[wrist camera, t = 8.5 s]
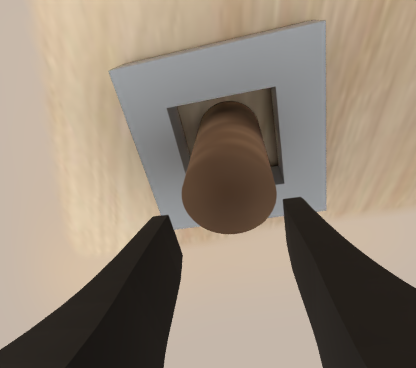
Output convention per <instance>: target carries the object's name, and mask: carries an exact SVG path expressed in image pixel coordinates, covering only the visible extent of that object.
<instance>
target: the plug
mask: <svg viewBox="0 0 416 368" xmlns="http://www.w3.org/2000/svg"><path fill="white" fill-rule="evenodd" d="M276 199H277V191H276V185H275V182H274V178H273V174H272V171H271V167H270V163H269V160H268V156H267V152H266V149H265V145H264V141H263V138H262V134H261V130H260V127H259V123H258V120H257V118H256V116H255V114H254V113H253V112H252V111H251V110H250V109H249V108H248V107H247V106H245V105H243V104H241V103H238V102H230V101H229V102H222V103H219V104H216V105H214V106H213V107H211V108H210V109H209V110H208V111H207V112H206V113H205V114H204V116H203V117H202V120H201V122H200V126H199V129H198V133H197V137H196V140H195V144H194V147H193V151H192V154H191V158H190V161H189V165H188V168H187V172H186V175H185V179H184V182H183V186H182V202H183V205H184V208H185V210H186V212H187V213H188V215H189V216H190V217H191V218H192V219H193V221H195V222H196V223H197V224H198V225H200V226H201V227H203V228H205V229H207V230H210V231H212V232H216V233H221V234H237V233H243V232H246V231H249V230H252V229H254V228H256V227H257V226H259V225H260V224H262V223H263V222H264V221H265V220H266V219H267V218H268V217H269V216H270V214H271V213H272V211H273V209H274V206H275V204H276Z"/></svg>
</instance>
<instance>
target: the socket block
mask: <svg viewBox="0 0 416 368" xmlns="http://www.w3.org/2000/svg"><path fill="white" fill-rule="evenodd" d="M109 74H110V77H111V80H112V82H113V85H114V88H115V91H116V93H117V96H118V99H119V101H120V104H121V107H122V110H123V112H124V115H125V118H126V121H127V123H128V126H129V129H130V132H131V134H132V137H133V140H134V143H135V145H136V148H137V151H138V153H139V156H140V159H141V162H142V164H143V167H144V170H145V173H146V175H147V178H148V181H149V184H150V186H151V189H152V192H153V194H154V197H155V200H156V203H157V205H158V208H159V211H160V214H161V216H162V215H169V217H170V220H171V223H172V226H173V229H174V230H176V229H184V228H192V227H200V225H198V224H197V223H196V222H195V221H193V219H192V218H191V217H190V216H189V215H188V213H187V212H186V210H185V208H184V205H183V202H182V186H183V182H184V179H185V175H186V172H187V168H188V165H189V161H190V154H189V151H188V147H187V143H186V139H185V136H184V132H183V128H182V124H181V121H180V117H179V113H178V110H177V106H180V105H185V104H190V103H195V102H200V101H205V100H210V99H215V98H220V97H225V96H230V95H235V94H240V93H245V92H250V91H255V90H260V89H265V88H270V87H271V94H272V104H273V114H274V124H275V135H276V145H277V155H278V165H279V166H274V167H271V171H272V174H273V178H274V182H275V185H276V191H277V199H276V204H275V206H274V209H273V211H272V213H271V214H270V216H269V217H268V218H271V217H279V216H284V210H283V199H287V198H294V197H302V198H303V199H304V200H305V201H306V202H307V203H308V204H309V205H310V206H311V207H312V208H313V209H314V210H315V211H316V212H319V211H326V21H325V20H311V21H307V22H302V23H298V24H294V25H290V26H285V27H281V28H277V29H272V30H268V31H264V32H260V33H255V34H251V35H247V36H243V37H238V38H234V39H230V40H225V41H221V42H217V43H213V44H208V45H204V46H200V47H196V48H191V49H187V50H183V51H178V52H174V53H170V54H166V55H161V56H157V57H153V58H149V59H144V60H140V61H136V62H131V63H127V64H123V65H121V66H119V67H116V68H114V69H112V70H109Z"/></svg>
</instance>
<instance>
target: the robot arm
mask: <svg viewBox="0 0 416 368" xmlns="http://www.w3.org/2000/svg"><path fill="white" fill-rule="evenodd" d="M283 210H284V220H285V231H286V241H287V247H288V252H289V256H290V261H291V265H292V269H293V273H294V276H295V279H296V282H297V285H298V288H299V291H300V294H301V297H302V300H303V303H304V305H305V308H306V311H307V314H308V317H309V320H310V323H311V326H312V329H313V332H314V335H315V339H316V342H317V346H318V350H319V354H320V358H321V361H322V366H323V368H416V288H414V287H413V286H411V285H409V284H408V283H406V282H404V281H403V280H401V279H399V278H398V277H397V276H395V275H394V274H392V273H391V272H389V271H388V270H386V269H385V268H383V267H382V266H380V265H379V264H377V263H376V262H375V261H373V260H372V259H370V258H369V257H368V256H367V255H365V254H364V253H362V252H361V251H360V250H359V249H357V248H356V247H355V246H354V245H352V244H351V243H350V242H349V241H348V240H346V239H345V238H344V237H343V236H341V235H340V234H339V233H338V232H337V231H336V230H335V229H334V228H333V227H331V226H330V225H329V224H328V223H327V222H326V221H325V220H324V219H323V218H322V217H321V216H320V215H319V214H318V213H317V212H316V211H315V210H314V209H313V208H312V207H311V206H310V205H309V204H308V203H307V202H306V201H305V200H304V199H303V198H302V197H294V198H287V199H283ZM182 257H183V255H182V252H181V249H180V246H179V243H178V240H177V237H176V235H175V232H174V229H173V226H172V223H171V220H170V217H169V215H162V216H154V217H152V218H151V219H150V220H149V221H148V222H147V223H146V224H145V225H144V226H143V227H142V229H141V230H140V231H139V232H138V233H137V234H136V235H135V236H134V237H133V238H132V240H131V241H130V242H129V243H128V244H127V245H126V246H125V247H124V248H123V249H122V250H121V251H120V252H119V253H118V255H117V256H116V257H115V258H114V259H113V260H112V261H111V262H110V263H108V265H106V266H105V268H103V269H102V270H101V272H99V273H98V275H96V276H95V277H94V278H93V279H92V280H91V281H90V282H89V283H88V284H87V285H85V286H84V287H83V288H82V289H81V290H80V291H79V292H77V293H76V294H75V295H74V296H73V297H71V298H70V299H69V300H68V301H67V302H66V303H64V304H63V305H62V306H61V307H59V308H58V309H57V310H55V311H54V312H53V313H51V314H50V315H49V316H47V317H46V318H45V319H43V320H42V321H41V322H39V323H38V324H37V325H35V326H34V327H33V328H31V329H30V330H29V331H27V332H26V333H24V334H23V335H21V336H20V337H18V338H17V339H16V340H14V341H13V342H11V343H10V344H8V345H7V346H5V347H4V348H2V349H1V350H0V368H163V367H164V359H165V352H166V347H167V341H168V336H169V332H170V327H171V322H172V318H173V312H174V309H175V304H176V300H177V295H178V290H179V285H180V280H181V269H182Z"/></svg>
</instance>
